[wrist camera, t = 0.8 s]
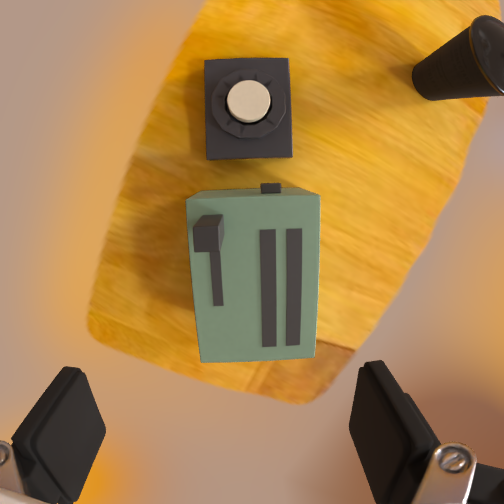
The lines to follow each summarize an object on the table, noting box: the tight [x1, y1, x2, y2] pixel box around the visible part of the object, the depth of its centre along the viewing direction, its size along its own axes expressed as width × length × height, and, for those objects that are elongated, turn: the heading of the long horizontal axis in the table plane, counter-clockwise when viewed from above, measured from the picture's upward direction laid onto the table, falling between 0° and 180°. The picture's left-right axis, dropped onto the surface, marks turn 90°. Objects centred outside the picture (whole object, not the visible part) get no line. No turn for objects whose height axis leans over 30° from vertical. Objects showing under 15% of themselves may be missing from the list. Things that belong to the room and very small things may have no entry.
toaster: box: [186, 183, 320, 363], centre depth 30 cm, size 15×10×9 cm
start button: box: [227, 80, 270, 123], centre depth 26 cm, size 4×4×2 cm
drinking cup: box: [412, 15, 504, 101], centre depth 20 cm, size 8×8×20 cm
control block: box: [204, 58, 293, 161], centre depth 28 cm, size 10×8×4 cm
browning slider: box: [192, 214, 225, 253], centre depth 22 cm, size 2×2×5 cm
